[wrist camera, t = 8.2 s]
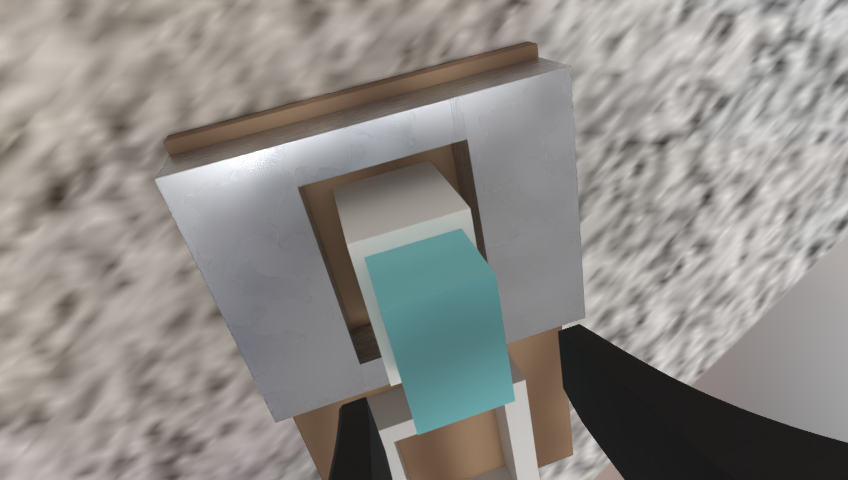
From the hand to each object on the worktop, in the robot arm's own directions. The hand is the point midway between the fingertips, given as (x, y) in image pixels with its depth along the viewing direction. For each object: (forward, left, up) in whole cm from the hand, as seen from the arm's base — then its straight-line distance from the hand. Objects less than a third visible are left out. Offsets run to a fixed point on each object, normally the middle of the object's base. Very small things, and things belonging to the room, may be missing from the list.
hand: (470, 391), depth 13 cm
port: (0, 0, -10) cm, 10 cm away
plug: (0, 0, -10) cm, 10 cm away
